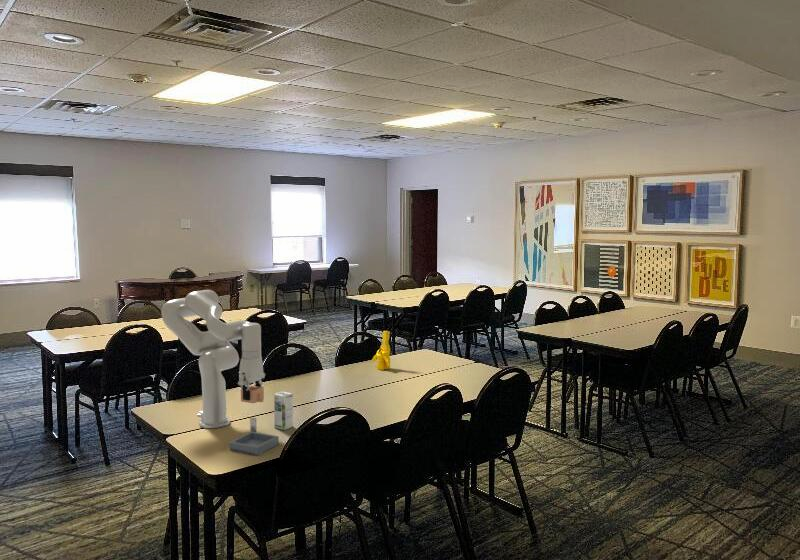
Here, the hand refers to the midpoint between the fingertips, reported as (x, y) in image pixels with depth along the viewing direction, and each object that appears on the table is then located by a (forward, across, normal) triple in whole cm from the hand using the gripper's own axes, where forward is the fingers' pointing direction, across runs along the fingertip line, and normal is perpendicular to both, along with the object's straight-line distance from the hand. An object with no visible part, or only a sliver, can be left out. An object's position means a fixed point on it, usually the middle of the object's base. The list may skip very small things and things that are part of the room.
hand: (252, 397), depth 246 cm
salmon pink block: (+1, 0, 0) cm, 1 cm away
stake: (+15, 0, 0) cm, 15 cm away
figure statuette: (+15, -117, 0) cm, 118 cm away
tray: (+15, +12, +10) cm, 22 cm away
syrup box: (+15, -11, +7) cm, 20 cm away
